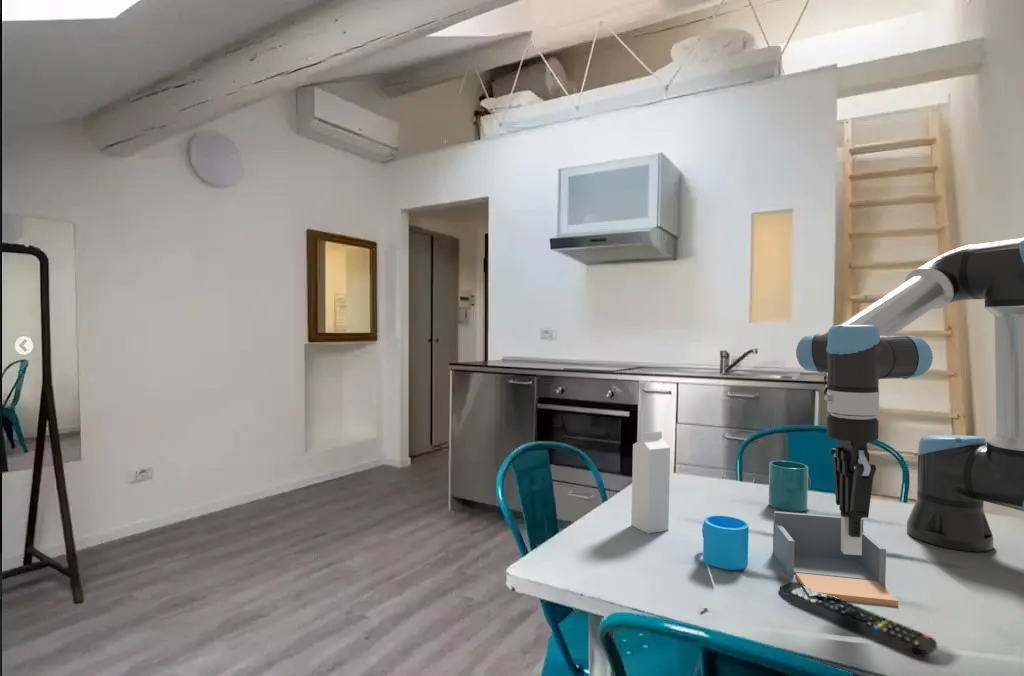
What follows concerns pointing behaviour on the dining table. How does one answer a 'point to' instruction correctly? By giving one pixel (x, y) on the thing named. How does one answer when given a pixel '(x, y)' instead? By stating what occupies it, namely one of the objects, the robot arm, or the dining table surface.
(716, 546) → the mug
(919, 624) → the dining table surface
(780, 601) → the dining table surface
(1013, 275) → the robot arm
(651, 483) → the milk
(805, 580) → the panel
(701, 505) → the dining table surface
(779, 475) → the cup
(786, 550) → the box
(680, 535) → the dining table surface
